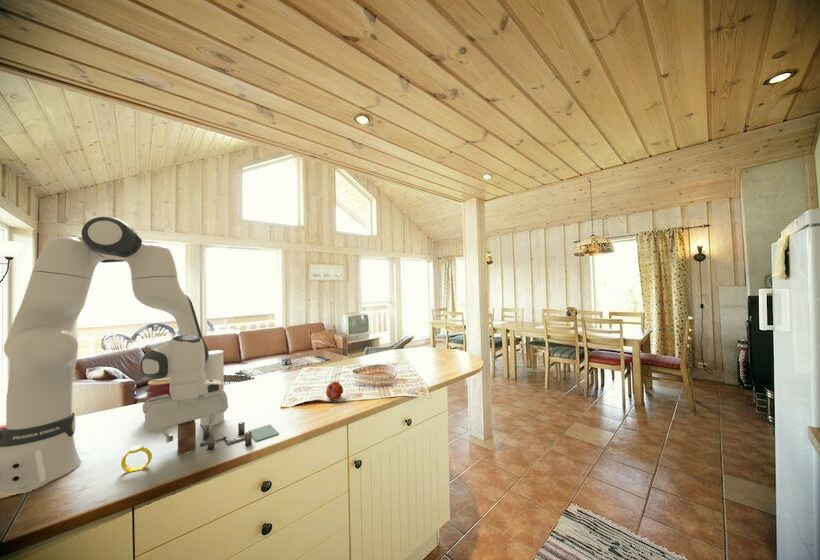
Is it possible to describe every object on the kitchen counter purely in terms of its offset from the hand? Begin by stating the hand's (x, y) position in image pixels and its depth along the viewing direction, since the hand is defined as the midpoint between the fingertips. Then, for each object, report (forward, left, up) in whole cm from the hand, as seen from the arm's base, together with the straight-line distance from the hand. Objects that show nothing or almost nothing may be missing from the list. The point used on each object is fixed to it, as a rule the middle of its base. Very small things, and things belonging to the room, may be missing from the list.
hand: (189, 435), depth 91 cm
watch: (-12, -4, -4) cm, 13 cm away
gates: (+9, -3, -4) cm, 11 cm away
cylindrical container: (+8, +17, -4) cm, 20 cm away
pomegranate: (+51, +6, -4) cm, 52 cm away
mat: (+19, -6, -4) cm, 20 cm away
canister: (-4, +34, -4) cm, 35 cm away
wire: (+9, -3, -4) cm, 11 cm away
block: (-1, -1, -4) cm, 4 cm away
